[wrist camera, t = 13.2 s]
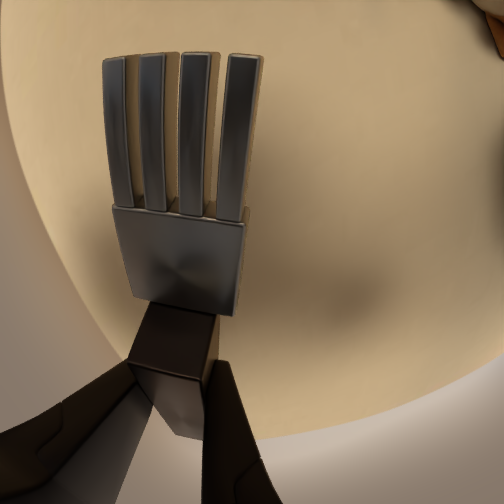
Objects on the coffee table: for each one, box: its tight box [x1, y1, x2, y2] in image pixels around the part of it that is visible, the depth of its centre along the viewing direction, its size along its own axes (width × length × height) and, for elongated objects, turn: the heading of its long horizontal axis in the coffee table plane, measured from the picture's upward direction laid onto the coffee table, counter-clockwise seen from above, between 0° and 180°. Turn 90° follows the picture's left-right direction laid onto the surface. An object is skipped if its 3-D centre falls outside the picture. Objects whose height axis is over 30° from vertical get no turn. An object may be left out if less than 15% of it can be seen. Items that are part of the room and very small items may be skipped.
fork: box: [102, 52, 264, 441], centre depth 7 cm, size 13×2×2 cm, turn 172°
